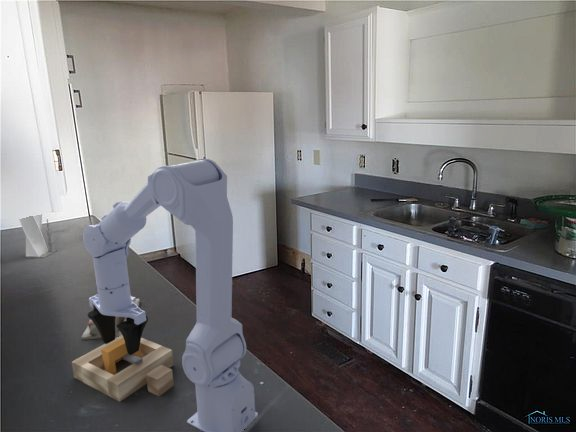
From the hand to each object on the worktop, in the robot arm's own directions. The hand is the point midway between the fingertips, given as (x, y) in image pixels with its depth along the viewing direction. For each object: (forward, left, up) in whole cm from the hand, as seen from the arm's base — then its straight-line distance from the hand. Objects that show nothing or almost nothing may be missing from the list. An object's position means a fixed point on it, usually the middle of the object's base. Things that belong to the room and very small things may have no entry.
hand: (121, 346), depth 85 cm
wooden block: (0, 0, -5) cm, 5 cm away
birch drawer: (0, 0, -6) cm, 6 cm away
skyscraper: (+87, -30, -6) cm, 92 cm away
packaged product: (+21, -13, -7) cm, 26 cm away
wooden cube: (-10, 0, -6) cm, 12 cm away
